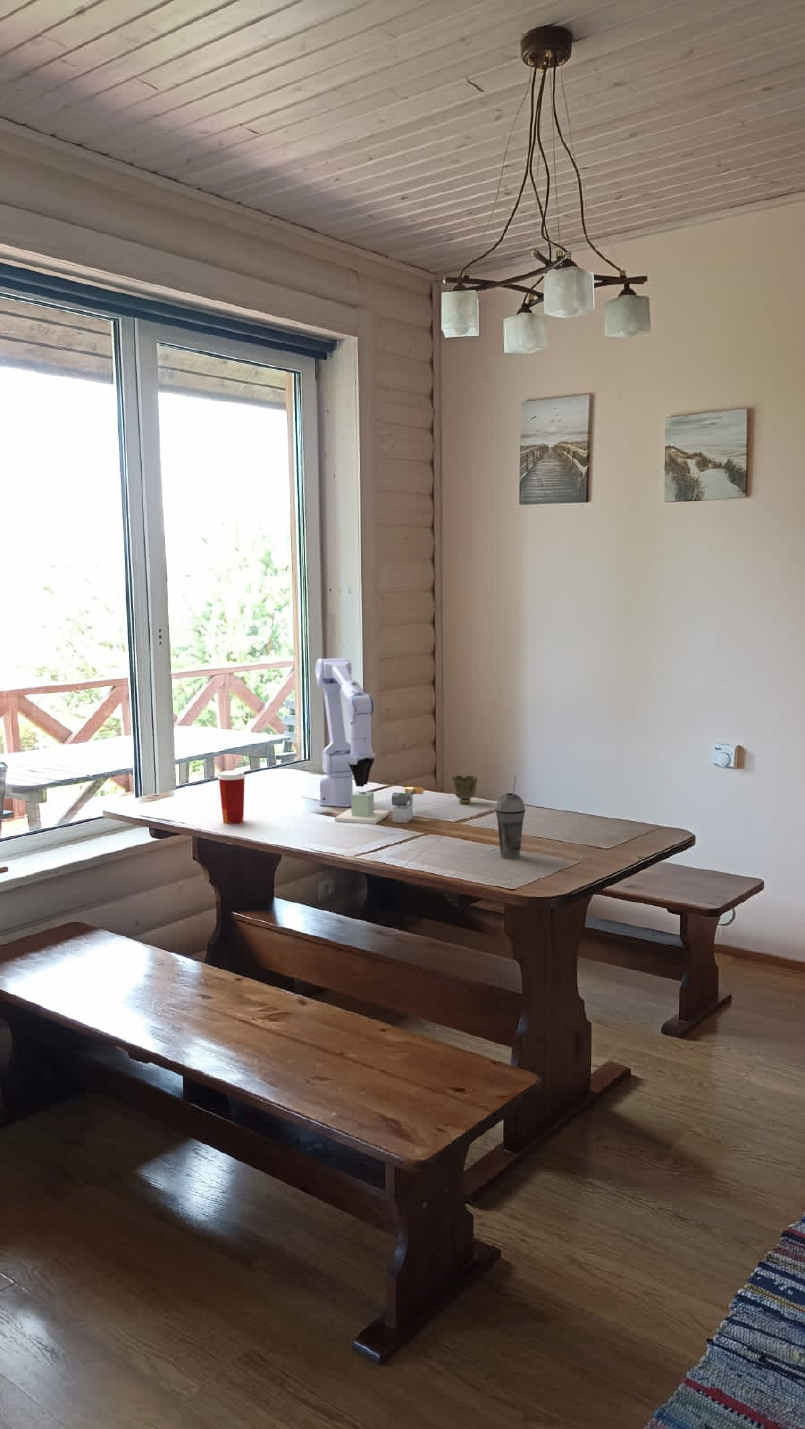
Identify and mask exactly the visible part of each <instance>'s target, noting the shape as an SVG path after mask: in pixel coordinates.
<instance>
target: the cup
mask: <svg viewBox="0 0 805 1429" xmlns="http://www.w3.org/2000/svg"><path fill="white" fill-rule="evenodd" d="M477 782H478V777H476V776H473V775H472V774H471V775H468V774H467V775H466V776H465V777H463V775H456V776H455V775H454V776H453V777H452V785H453V786H452V787H453V792H454V795H455V797H457V799H458V803H459V804H460V805H469V804H470V803H471V802H472V800H471V799H472V798H473V797H474V796H475V794H476V791H477Z"/></svg>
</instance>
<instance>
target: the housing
mask: <svg viewBox="0 0 805 1429" xmlns="http://www.w3.org/2000/svg"><path fill="white" fill-rule="evenodd" d="M374 794H375V792H374V791H359V790H358V791H356V792H353V794H352V795H351V806H350V809H352V816H363V817H369V816H370V815H372V814H373V813H374V810H375V796H374Z"/></svg>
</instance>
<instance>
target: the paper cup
mask: <svg viewBox="0 0 805 1429" xmlns="http://www.w3.org/2000/svg"><path fill="white" fill-rule="evenodd" d="M244 772H245V771H243V770H234V769H233V770H224V771H221V772H219V774H218V776H217V780H218V781H219V795H220V804H221V812H222V822H223V823H224V824H230V825H233V824H235V825H237V824H240V823H243V822H244V815H245V814H244V811H245V779H246V775H245V773H244Z"/></svg>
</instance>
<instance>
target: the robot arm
mask: <svg viewBox="0 0 805 1429" xmlns="http://www.w3.org/2000/svg"><path fill="white" fill-rule="evenodd" d="M352 668H353V666H352V662H351V660H350V658H348V657H344V658H343V657H341V658H318V659H317V660H316V663H315V669H314V671H315V677H316V684H317V687H318V688H319V689H320V690H322V693H323V696H324V705H325V712H326V713H325V714H326V721H327V728H328V729H327V730H328V737H329V744H328V745H327V746H325V748H323V750H322V753H321V756H322V761H321V762H322V763H321V765H322V771H323V773H324V774H323V775H322V776H321V778H320V782H319V794H320V795H319V798H320V800H319V801H320V803H319V806H326V807H327V806H328V807H340V808H342V807H343V808H349V807H350V808H351V795H352V794H354V792H353V790H354V788H353V779H354V783H355V786H356V787H358V788H359V787H362V788H364V786H365V785H368V783H369V778H370V773H371V769H372V767H373V765H374V762H375V759H374V758H373V757H376V753H375V752H373V749H372V717H371V716H372V715H373V714H374V711H375V702H374V698H373V696H372V694H371V693H365V691H364V690H363V688H362V686H361V685H360V684H359V682H358V681H356V680H353V677H352V671H353V670H352ZM341 696H342V697H343V699H344V700H345V702H346V710H347V714H348V722H350V743H349V742H347V739H346V731H345V730H346V729H345V724H344V723H345V722H344V716H343V715H344V714H343V709H342V708H343V706H342V702H341V701H342V700H341ZM371 757H372V758H371Z"/></svg>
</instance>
